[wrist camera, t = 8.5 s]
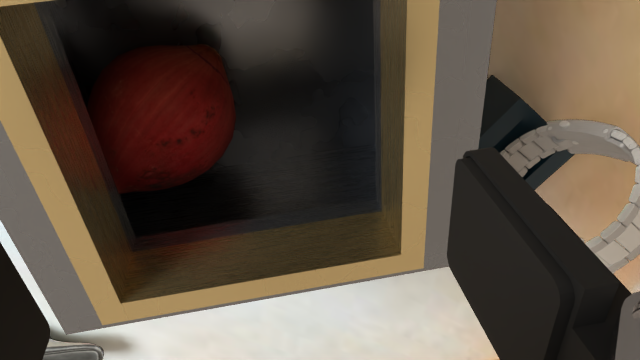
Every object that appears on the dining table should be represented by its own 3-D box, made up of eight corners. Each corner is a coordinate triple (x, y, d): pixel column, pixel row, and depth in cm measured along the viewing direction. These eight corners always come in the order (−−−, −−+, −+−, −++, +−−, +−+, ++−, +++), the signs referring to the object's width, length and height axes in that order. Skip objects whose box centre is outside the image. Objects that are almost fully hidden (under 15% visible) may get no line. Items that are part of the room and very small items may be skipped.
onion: (260, 52, 18) (126, 227, 17) (276, 109, 24) (176, 245, 23) (140, -22, 19) (2, 138, 18) (182, 49, 25) (80, 177, 23)
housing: (-24, -165, 18) (-343, -189, 8) (398, -201, 19) (590, -260, 9) (113, 188, 27) (48, 390, 17) (394, 145, 28) (489, 307, 18)
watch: (413, 156, 29) (499, 291, 20) (516, 49, 26) (669, 151, 17) (471, 197, 32) (570, 334, 23) (571, 104, 29) (729, 218, 20)
